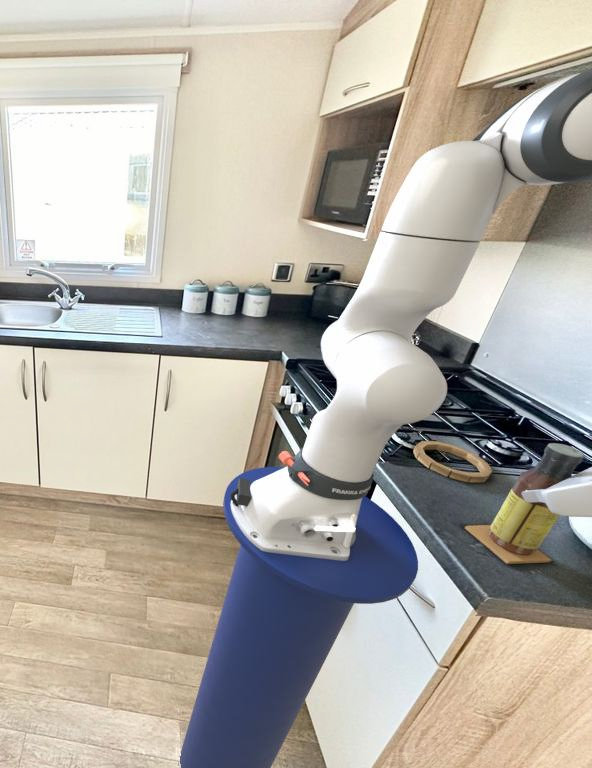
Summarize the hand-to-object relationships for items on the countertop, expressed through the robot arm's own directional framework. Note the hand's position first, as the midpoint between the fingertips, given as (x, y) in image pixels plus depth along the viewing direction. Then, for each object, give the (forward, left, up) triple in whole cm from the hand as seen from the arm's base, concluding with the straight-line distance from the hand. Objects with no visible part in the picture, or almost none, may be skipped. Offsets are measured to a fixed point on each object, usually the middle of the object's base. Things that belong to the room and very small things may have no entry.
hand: (537, 490), depth 68 cm
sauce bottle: (0, -1, -12) cm, 12 cm away
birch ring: (+11, +22, -12) cm, 28 cm away
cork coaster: (0, -1, -12) cm, 12 cm away
